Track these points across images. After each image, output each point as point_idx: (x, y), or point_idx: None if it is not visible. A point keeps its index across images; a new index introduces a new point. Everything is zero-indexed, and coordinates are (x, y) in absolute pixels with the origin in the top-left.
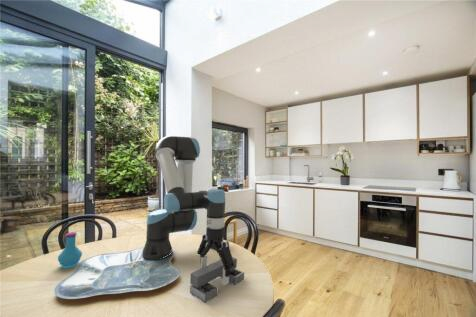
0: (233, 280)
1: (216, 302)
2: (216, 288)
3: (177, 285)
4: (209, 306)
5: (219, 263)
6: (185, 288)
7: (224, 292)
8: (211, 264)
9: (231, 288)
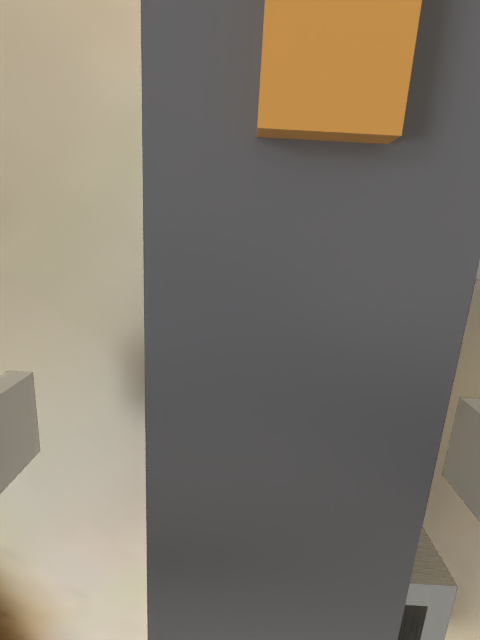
0: None
1: (467, 573)
2: (453, 593)
3: (21, 609)
4: (448, 629)
5: (284, 465)
6: (111, 597)
7: (443, 439)
8: (170, 609)
9: (468, 344)
